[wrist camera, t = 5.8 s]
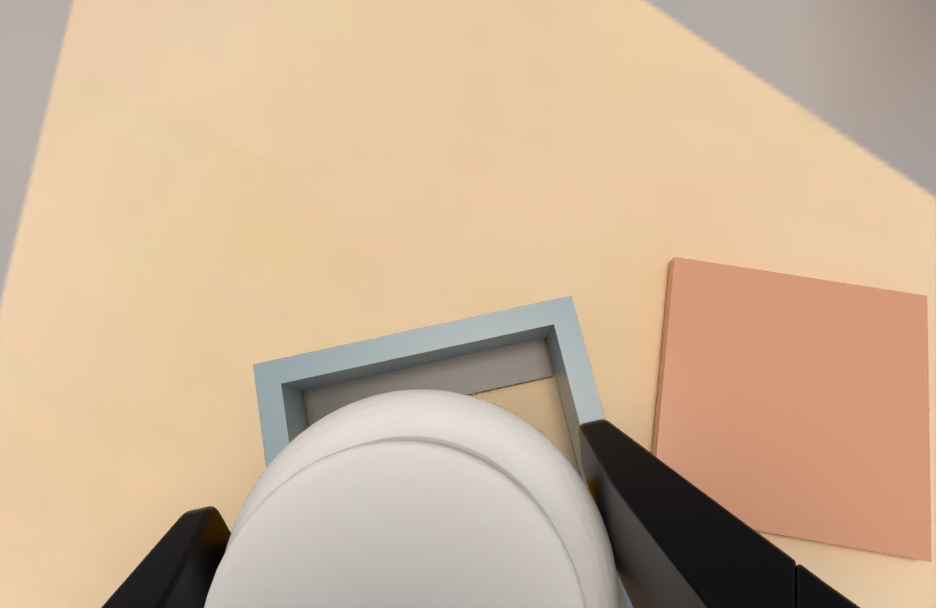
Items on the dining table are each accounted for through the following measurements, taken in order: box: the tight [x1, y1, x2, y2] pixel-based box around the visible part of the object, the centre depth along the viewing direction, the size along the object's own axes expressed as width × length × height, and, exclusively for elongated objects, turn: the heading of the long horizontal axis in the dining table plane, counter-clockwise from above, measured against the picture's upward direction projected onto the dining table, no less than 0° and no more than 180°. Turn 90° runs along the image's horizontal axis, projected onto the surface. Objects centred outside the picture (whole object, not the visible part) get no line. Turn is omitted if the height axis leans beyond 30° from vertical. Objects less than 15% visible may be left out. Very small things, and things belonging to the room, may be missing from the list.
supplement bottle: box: [204, 389, 618, 608], centre depth 11 cm, size 6×6×10 cm
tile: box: [652, 257, 931, 562], centre depth 21 cm, size 9×9×1 cm
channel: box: [253, 296, 633, 608], centre depth 19 cm, size 10×11×2 cm
